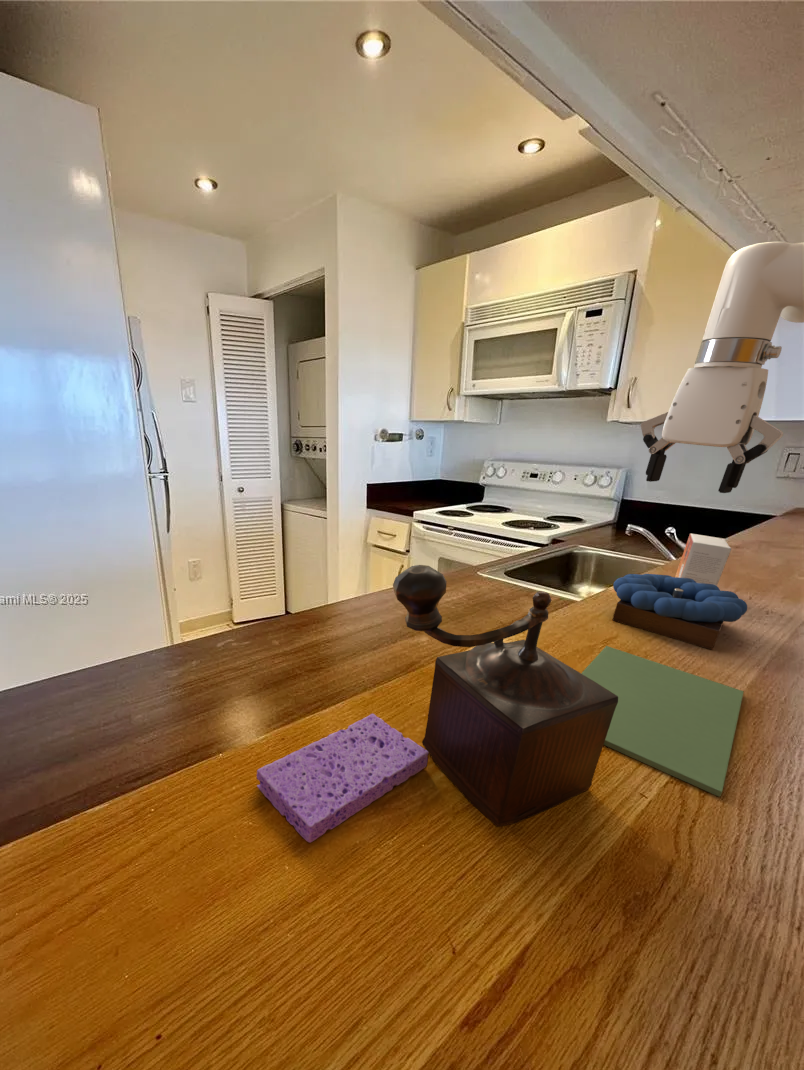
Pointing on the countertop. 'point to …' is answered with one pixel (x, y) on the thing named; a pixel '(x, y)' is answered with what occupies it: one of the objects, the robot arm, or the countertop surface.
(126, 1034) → the countertop surface
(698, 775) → the mat
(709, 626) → the platform
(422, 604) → the dark brown coffee grinder
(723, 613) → the ring
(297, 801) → the sponge
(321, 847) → the countertop surface
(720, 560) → the small box
